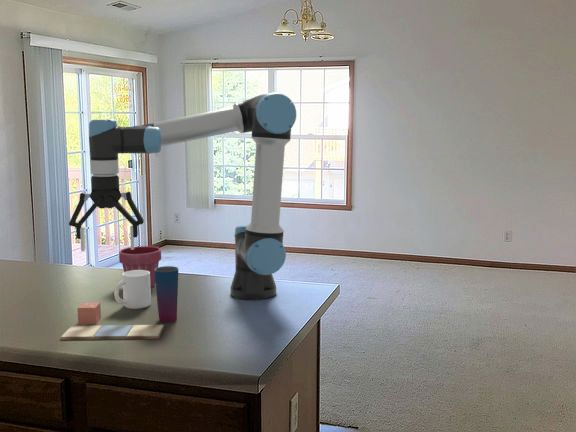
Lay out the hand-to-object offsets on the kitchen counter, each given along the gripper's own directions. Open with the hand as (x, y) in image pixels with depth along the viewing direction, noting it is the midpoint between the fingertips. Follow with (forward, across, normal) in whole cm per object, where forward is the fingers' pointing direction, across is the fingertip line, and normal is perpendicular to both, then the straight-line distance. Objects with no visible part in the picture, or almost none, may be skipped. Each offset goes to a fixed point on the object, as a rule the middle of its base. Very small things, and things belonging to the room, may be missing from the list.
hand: (108, 249), depth 175 cm
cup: (+20, -16, +4) cm, 26 cm away
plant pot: (+20, -6, -34) cm, 41 cm away
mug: (+20, -5, -10) cm, 24 cm away
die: (+20, +6, +2) cm, 21 cm away
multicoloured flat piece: (+20, -2, +14) cm, 24 cm away
